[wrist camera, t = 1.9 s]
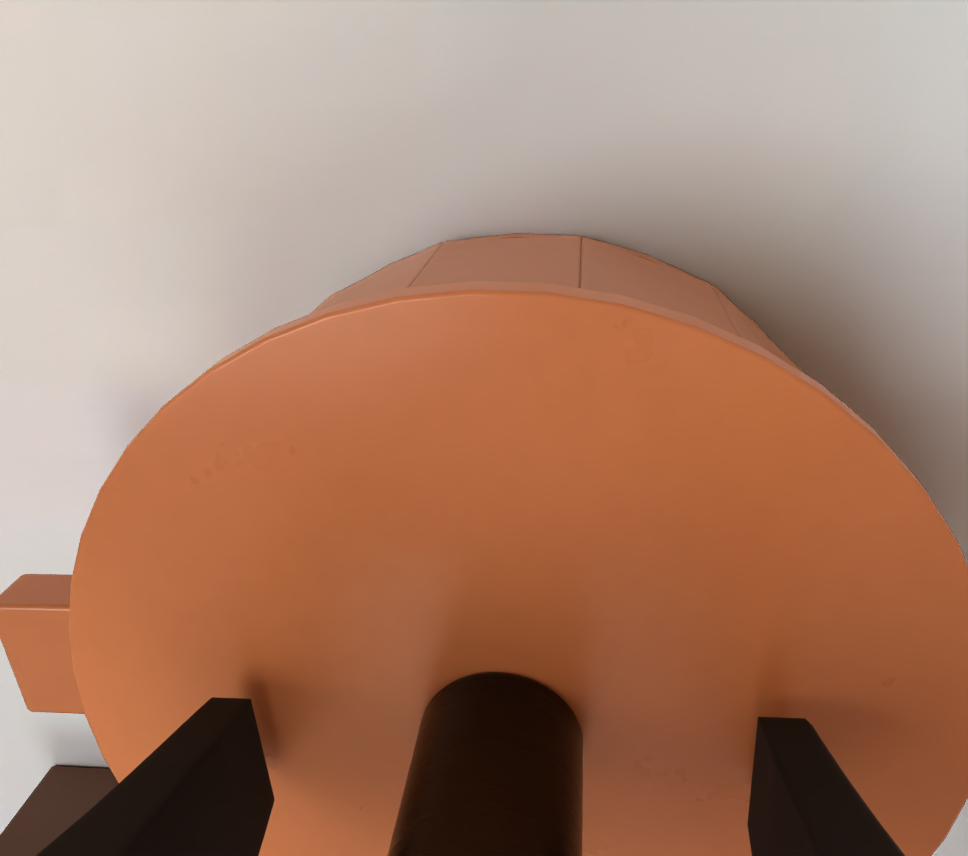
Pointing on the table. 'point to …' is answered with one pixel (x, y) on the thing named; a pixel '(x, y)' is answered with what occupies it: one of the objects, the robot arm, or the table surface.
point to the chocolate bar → (54, 808)
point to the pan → (502, 258)
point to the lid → (524, 581)
